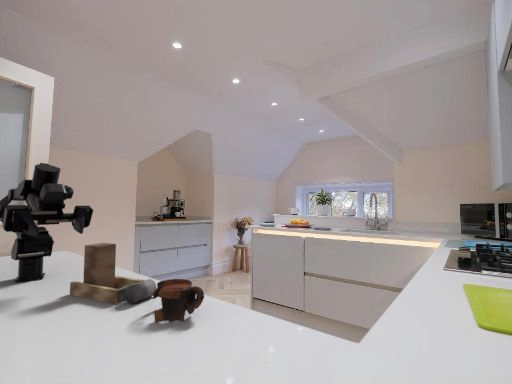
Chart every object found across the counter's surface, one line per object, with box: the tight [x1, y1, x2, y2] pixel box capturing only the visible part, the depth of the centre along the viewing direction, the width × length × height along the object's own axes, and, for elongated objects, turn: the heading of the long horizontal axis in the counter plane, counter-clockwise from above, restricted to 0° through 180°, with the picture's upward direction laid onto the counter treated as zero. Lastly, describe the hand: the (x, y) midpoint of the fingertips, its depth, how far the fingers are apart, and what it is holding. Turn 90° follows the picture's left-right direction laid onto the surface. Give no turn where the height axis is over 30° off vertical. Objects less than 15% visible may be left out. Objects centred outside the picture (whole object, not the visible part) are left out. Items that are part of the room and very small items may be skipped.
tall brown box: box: [82, 242, 117, 288], centre depth 71 cm, size 5×5×12 cm
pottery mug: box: [151, 278, 205, 323], centre depth 57 cm, size 12×10×8 cm
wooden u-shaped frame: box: [69, 275, 157, 305], centre depth 68 cm, size 20×9×4 cm, turn 68°
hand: (61, 233), depth 68 cm, fingers open, 9 cm apart
